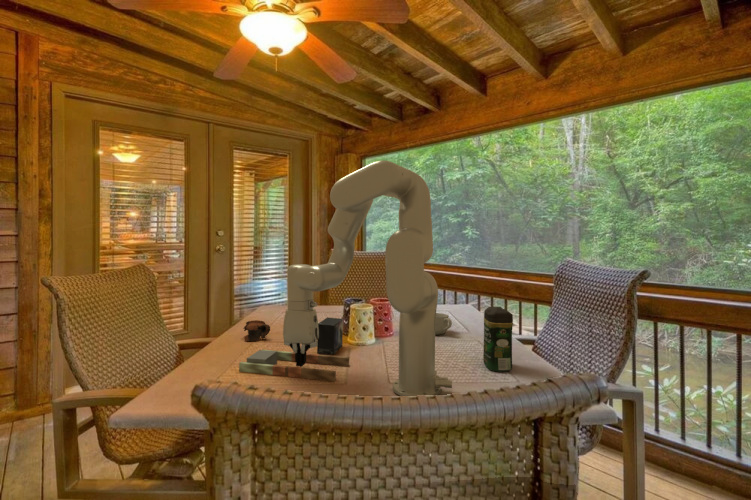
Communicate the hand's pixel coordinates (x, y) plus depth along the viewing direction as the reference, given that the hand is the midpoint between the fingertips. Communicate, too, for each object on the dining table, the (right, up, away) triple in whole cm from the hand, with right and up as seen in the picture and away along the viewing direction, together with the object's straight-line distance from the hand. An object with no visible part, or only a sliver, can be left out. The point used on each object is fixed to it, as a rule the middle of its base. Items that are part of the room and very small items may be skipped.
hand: (300, 364), depth 115 cm
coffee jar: (+61, -2, +2) cm, 60 cm away
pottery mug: (-23, 0, +32) cm, 40 cm away
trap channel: (-2, -1, +1) cm, 2 cm away
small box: (+7, -1, +18) cm, 20 cm away
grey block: (-12, -1, +2) cm, 12 cm away
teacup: (+48, 0, +40) cm, 63 cm away
